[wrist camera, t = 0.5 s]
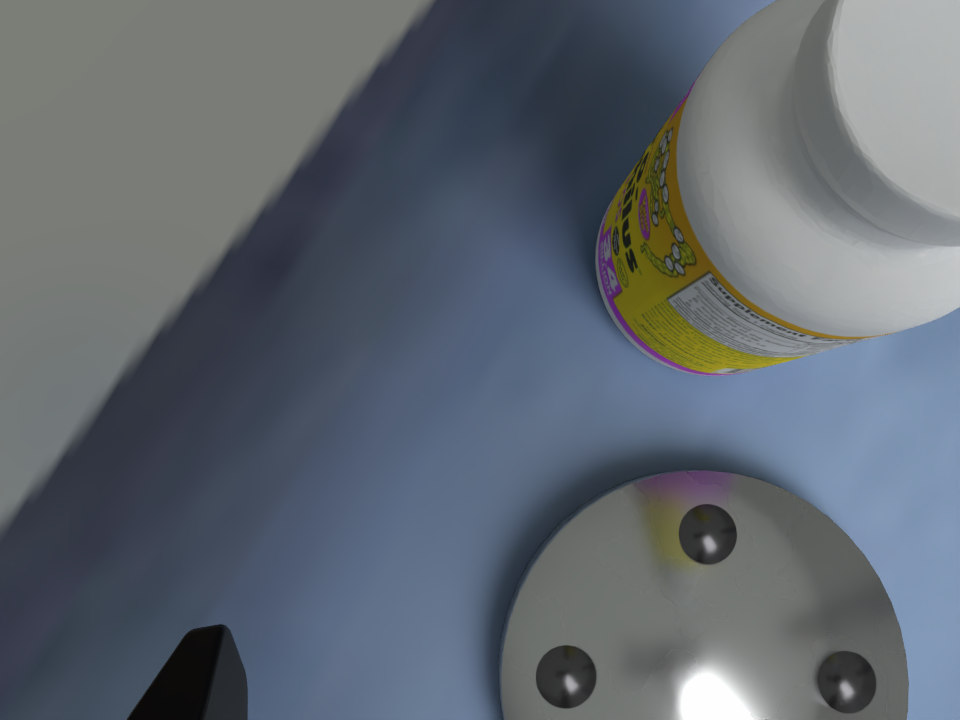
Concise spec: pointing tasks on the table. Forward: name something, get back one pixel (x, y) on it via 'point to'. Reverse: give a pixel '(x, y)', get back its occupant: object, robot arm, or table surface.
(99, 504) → the table surface
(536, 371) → the table surface
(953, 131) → the supplement bottle
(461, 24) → the table surface
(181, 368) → the table surface
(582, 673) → the rosette plate
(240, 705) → the robot arm
